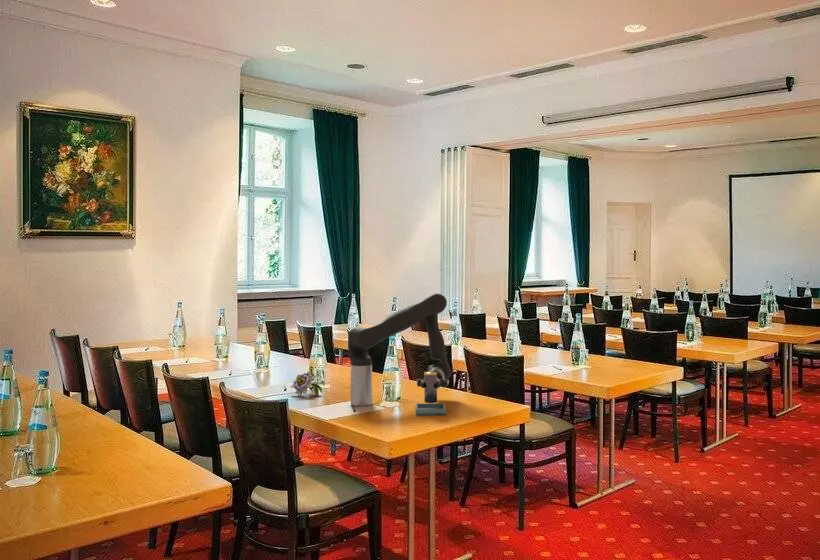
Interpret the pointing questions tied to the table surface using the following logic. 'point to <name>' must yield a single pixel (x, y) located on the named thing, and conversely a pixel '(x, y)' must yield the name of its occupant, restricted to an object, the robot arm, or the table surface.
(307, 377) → the passion flower
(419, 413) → the tray
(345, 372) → the table surface
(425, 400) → the block
